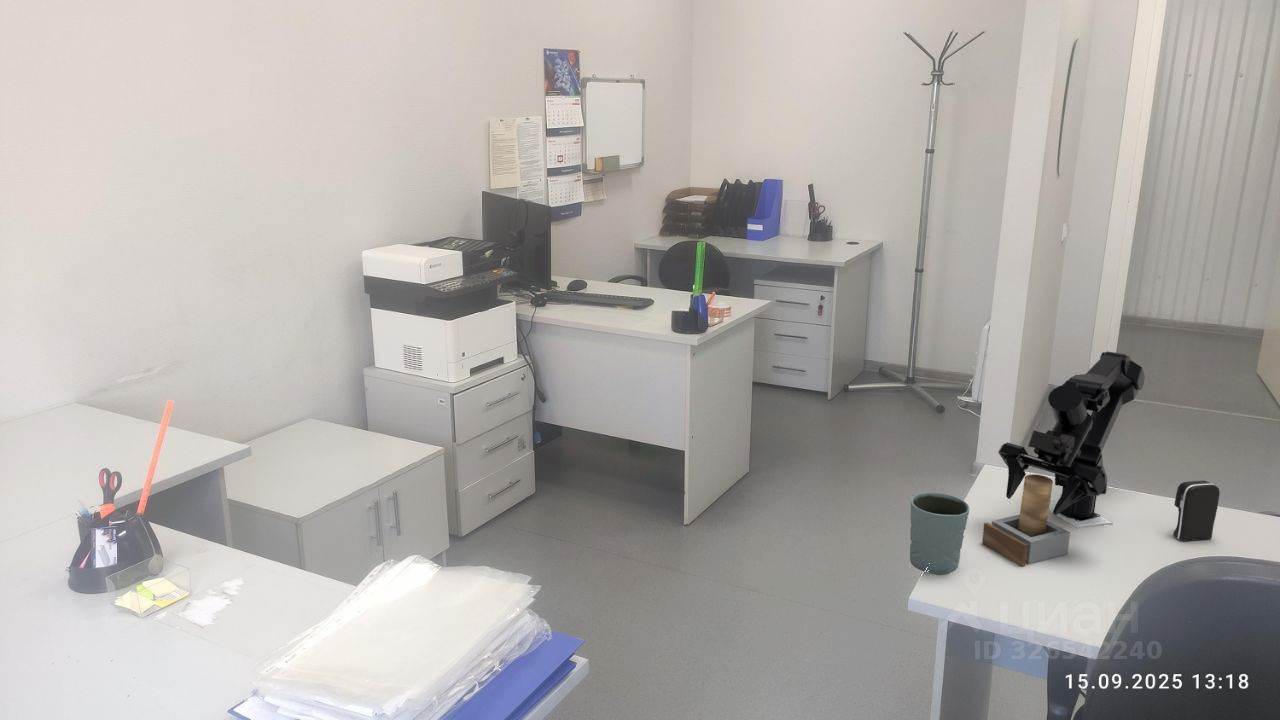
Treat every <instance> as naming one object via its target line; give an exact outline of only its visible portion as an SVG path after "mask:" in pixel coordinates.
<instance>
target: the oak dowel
mask: <svg viewBox="0 0 1280 720" xmlns="http://www.w3.org/2000/svg"><path fill="white" fill-rule="evenodd" d="M1053 483H1054V481H1053V479H1052V478H1049V477H1048V476H1045V475H1042V474H1026V475H1025V477H1024V479H1023V490H1022V496H1021V503H1020V504H1021V505H1020V512H1019V514H1020V518H1019V525H1018V531H1020V532H1022V533H1024V534H1026V535H1027V536H1029V537H1034V536H1038V535H1042V534H1046V527H1047V521H1048V519H1049V512H1050V511H1049V506H1050V500H1052V498H1051V497H1052V491H1053Z"/></svg>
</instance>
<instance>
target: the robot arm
mask: <svg viewBox="0 0 1280 720" xmlns="http://www.w3.org/2000/svg"><path fill="white" fill-rule="evenodd" d="M1145 378H1146V375H1145V372H1144V370H1143V367H1142V366H1141V365H1139V364H1138V363H1136V362H1134V361H1133V360H1132V359H1131V357H1130V356H1129V355H1127V354H1126V353H1121V352H1114V351H1113V352H1112V351H1108V350H1107V351H1103V352H1101V354H1100V358H1099V360H1098V361H1097V362H1096V363H1094V364H1093V366H1092V367H1091V368H1090V369H1088V371H1087V372H1086V373H1084V374H1083V373H1081V374H1075V375H1073V376H1071V377H1069V378H1068V379H1067V380H1066V381H1065V382H1064V383H1063V384H1061V385H1059V386H1057V387H1055V388H1054V389H1052V390H1051V391H1050V392H1049V393H1048V398H1047V399H1048V400H1047V401H1048V404H1049V407H1050V410H1051V412H1052V416H1053V417H1054V420H1055V421H1056V422H1055V424H1054V426H1053V427H1052V430H1049V429H1048V430H1047V431H1046V432H1041V431H1039V430H1038V431H1037V430H1032V433H1031V436H1030V439H1029V442H1028V445H1027V446H1028V448H1029V447H1030V448H1034V449H1033V452H1034V454H1036V455H1037V456H1033V455H1030V454H1029V453H1028V452H1027V450H1026V448H1025V447H1024V446H1021V445H1018V444H1015V443H1011V442H1005V443H1003V444H1001V446H1000V448H999V450H998V455H999V456H1000V458H1001V459H1002V461H1003V462H1004V463H1005V465H1006V466H1007V468H1008V471H1007V472H1008V476H1007V486H1006V493H1005V494H1006V495H1005V497H1006V498H1007V499H1008V500H1009V499H1012V497H1013V496H1014V494H1015V493H1016V491H1017V489H1018V488H1019V487H1020V485H1021V483H1022V482H1023V481H1024V479H1025V476H1027V474H1026V472H1025V470H1028V468H1029V467H1033V468H1036V469H1039V470H1042V471H1045V472H1049V473H1053V474H1054V485H1055V486H1058V487H1062V489H1061V490H1062V491H1061V494H1060V497H1059V498H1058V499H1059V500H1058V502H1057V504H1056V506H1055V508H1054V510H1053V513H1052V514H1053V515H1056V516H1057V514H1059V513H1060V514H1062V515H1064V516H1066V517H1068V518H1074V519H1075V520H1076V521H1077V520H1079V521H1084V520H1088V519H1092V518H1096V517H1100V516H1101V514H1098V513H1096V512H1095V511H1096V503H1097V502H1096V501H1097V497H1099V496H1100V495H1106V494H1107V489H1108V476H1107V474H1106V469H1105V467H1104V460H1103V453H1102V452H1103V450H1104V447H1105V445H1106V443H1107V441H1108V438H1109V436H1110V433H1111V431H1112V429H1113V427H1114V425H1115V422H1116V420H1117V418H1118V416H1119V413H1120V411H1121V409H1122V407H1123V405H1126V404H1128V403H1130V402H1131V401H1134V400H1135V398H1136V396H1137V395H1138V393H1139V391H1141V390H1143V387H1144V384H1145V380H1146V379H1145ZM1088 411H1091V414H1090V413H1089V412H1088ZM1094 512H1095V513H1094ZM1097 515H1099V516H1097Z"/></svg>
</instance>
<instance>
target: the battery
mask: <svg viewBox="0 0 1280 720" xmlns="http://www.w3.org/2000/svg"><path fill="white" fill-rule="evenodd" d="M1220 492H1221V491H1220V488H1219V487H1218V486H1217V485H1216V484H1214V483H1211V482H1210V481H1206V480H1191V481H1184V482H1181V483H1180V484H1179V485H1178V487H1177V488H1176V493H1175V499H1174V506H1175V507H1176V508H1178V509H1177V511H1178V514H1177V515H1178V517H1177V523H1176V524H1177V525H1176V528H1175V529H1174V531H1173V536H1174V537H1176V539H1178V540H1179V541H1183V542H1184V541H1185V542H1186V541H1201V540H1208V539H1212V538H1213V530H1214V525H1215V521H1216V515H1217V512H1218V506H1219V499H1220Z"/></svg>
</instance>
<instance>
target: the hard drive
mask: <svg viewBox="0 0 1280 720" xmlns="http://www.w3.org/2000/svg"><path fill="white" fill-rule="evenodd" d="M1059 499H1060V498H1054V499H1052V498H1051V499H1050V506H1049V512H1050V513H1052V514H1054V513H1053V510H1054V508H1055V506H1056V504H1057V502H1058V500H1059ZM1094 513H1096V512H1095V511H1094ZM1099 515H1100V514H1099ZM1099 515H1097V516H1099ZM1056 517H1059V518H1060V519H1062V520H1063V521H1065V522H1066V523H1067V524H1070V525H1071V526H1073V527H1074V528H1076V529H1078V530H1079V529H1086V528H1092V527H1093V528H1094V527H1100V526H1102V527H1105V526H1104V525H1109V526H1113V525H1114V524H1113V522H1112V521H1109V520H1108V519H1106V518H1105V517H1103V516H1102V515H1100V517H1096V518H1092V519H1088V520H1084V521H1079V520H1077V521H1076V520H1075V519H1074V518H1068V517H1066V516H1064V515H1062V514H1060V513H1059V514H1057V515H1056Z"/></svg>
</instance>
